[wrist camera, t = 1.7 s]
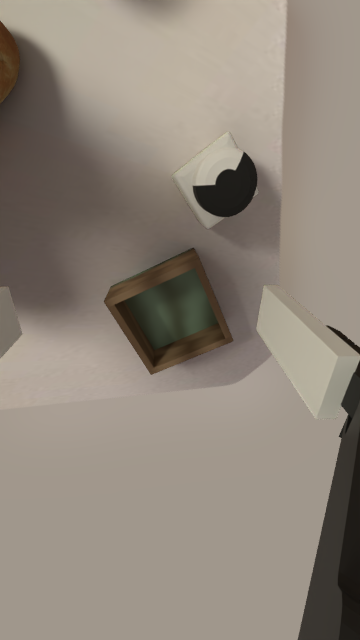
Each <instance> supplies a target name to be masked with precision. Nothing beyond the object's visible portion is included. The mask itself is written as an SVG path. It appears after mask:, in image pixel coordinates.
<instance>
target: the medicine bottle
mask: <svg viewBox="0 0 360 640" xmlns="http://www.w3.org/2000/svg"><path fill="white" fill-rule="evenodd" d="M172 179H173V181H174V183H175V184H176V186H177V187H178V189H179V191H180V192H181V194H182V195H183V197H184V199H185V200H186V202H187V204H188V205H189V207H190V208H191V210H192V212H193V213H194V215H195V216H196V218H197V220H198V221H199V222H200V223H201V224H202V225H203V226H204V227H205V228H206V229H210V228H211V227H213V226H214V225H216V224H217V223H218V222H220V221H221V220H223V219H224V218H225V217H230V216H233V215H236V214H238V213H240V212H241V211H242V210H244V209H245V208H246V207H247V206H248V204H249V203H250V202H251V200H252V198H253V197H255V196H256V195H257V194H258V192H259V191H258V189H257V187H256V186H257V173H256V168H255V165H254V163H253V161H252V160H251V158H250V157H249V156H248V155H247V154H246V153H245V152H243V151H242V150H240V149H238V147H237V145H236V143H235V141H234V139H233V137H232V135H231V133H230V132H226V133H225V134H224V135H222V136H221V137H220V138H218V139H217V140H216V141H214V142H213V143H212V144H211V145H209V146H208V147H207V148H205V149H204V150H203V151H202V152H200V153H199V154H198V155H197V156H195V157H194V158H193V159H192V160H190V161H189V162H188V163H187V164H185V165H184V166H183V167H182V168H180V169H179V170H178V171H176V172H175V173H174V174H173V175H172Z"/></svg>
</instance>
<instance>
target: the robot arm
mask: <svg viewBox="0 0 360 640" xmlns="http://www.w3.org/2000/svg"><path fill="white" fill-rule="evenodd" d="M256 330H257V332H258V333H259V335H260V336H261V338H262V339H263V341H264V342H265V344H266V345H267V347H268V348H269V350H270V351H271V353H272V354H273V356H274V357H275V359H276V360H277V362H278V363H279V365H280V366H281V368H282V369H283V371H284V372H285V374H286V375H287V376H288V378H289V380H290V381H291V383H292V384H293V386H294V387H295V389H296V390H297V392H298V393H299V395H300V396H301V398H302V399H303V401H304V402H305V404H306V405H307V407H308V408H309V410H310V411H311V413H312V414H313V415H314V417H315V419H336V418H337V415H338V413H339V410H340V408H341V406H342V407H343V408H344V409H345V411H346V412H347V413H348V416H347V419H346V421H345V423H344V426H343V428H342V431H341V433H340V435H339V437H341V438H342V439H341V444H340V448H339V453H338V457H337V462H336V467H335V471H334V476H333V480H332V485H331V490H330V494H329V499H328V503H327V508H326V513H325V518H324V522H323V527H322V531H321V536H320V541H319V545H318V549H317V554H316V559H315V564H314V568H313V573H312V577H311V582H310V586H309V591H308V596H307V601H306V605H305V609H304V614H303V619H302V624H301V628H300V632H299V637H298V640H360V347H358V346H357V345H355V344H354V343H353V342H352V341H351V340H350V339H348V338H347V337H346V336H345V335H343V334H342V333H341V332H340V331H338V330H336V329H334V328H332V327H330V326H325V325H324V324H323V323H322V322H321V321H320V320H318V319H317V318H316V317H315V316H314V315H313V314H311V313H310V312H309V311H308V310H307V309H305V308H304V307H303V306H302V305H301V304H300V303H298V302H297V301H296V300H295V299H294V298H292V297H291V296H290V295H289V294H288V293H287V292H285V291H284V290H283V289H282V288H281V287H280V286H278V285H264V287H263V293H262V299H261V305H260V310H259V316H258V322H257V328H256ZM21 335H22V331H21V328H20V324H19V321H18V317H17V314H16V310H15V307H14V304H13V300H12V297H11V293H10V290H9V287H0V358H1V357H2V356H3V355H4V354H5V353H6V352H7V351H8V350H9V348H10V347H11V346H12V345H13V344H14V343H15V342H16V341H17V340H18V338H19V337H20V336H21Z"/></svg>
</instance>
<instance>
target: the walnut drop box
mask: <svg viewBox="0 0 360 640" xmlns="http://www.w3.org/2000/svg"><path fill="white" fill-rule="evenodd" d="M104 303H105V304H106V306H107V307H108V309H109V310H110V312H111V314H112V315H113V317H114V318H115V320H116V321H117V323H118V324H119V326H120V327H121V329H122V331H123V332H124V334H125V335H126V337H127V338H128V340H129V341H130V343H131V344H132V346H133V348H134V349H135V351H136V352H137V354H138V355H139V357H140V358H141V360H142V361H143V363H144V365H145V366H146V368H147V369H148V371H149V372H150V374H151V375H152V374H154V373H157V372H159V371H162V370H164V369H167V368H169V367H171V366H174V365H176V364H179V363H181V362H184V361H186V360H188V359H191V358H193V357H196V356H198V355H201V354H203V353H206V352H208V351H210V350H213V349H215V348H218V347H220V346H223V345H225V344H228V343H230V342H232V341H233V338H232V336H231V333H230V331H229V329H228V326H227V324H226V321H225V319H224V317H223V314H222V312H221V309H220V307H219V305H218V302H217V300H216V297H215V295H214V293H213V290H212V288H211V286H210V283H209V281H208V278H207V276H206V274H205V271H204V269H203V266H202V264H201V262H200V259H199V257H198V255H197V253H196V252H195V250H194V248H192V249H190V250H188V251H186V252H184V253H181V254H179V255H177V256H175V257H173V258H171V259H169V260H166V261H164V262H162V263H160V264H158V265H156V266H154V267H151V268H149V269H147V270H145V271H143V272H141V273H139V274H137V275H134V276H132V277H130V278H128V279H126V280H124V281H122V282H119V283H117V284H115V285H113V286H111V287H110V290H109V292H108V294H107V296H106V298H105V300H104Z"/></svg>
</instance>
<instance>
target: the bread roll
mask: <svg viewBox="0 0 360 640" xmlns="http://www.w3.org/2000/svg"><path fill="white" fill-rule="evenodd" d="M19 65H20V57H19V50H18V47H17V44H16V42H15V40H14V38H13V37H12V35H11V34H10V32H9V31H8V29H7V28H6V27H5V26H4V25H3V23H2V22H1V21H0V104H1V103H2V101H3V100H4V99H5V98H6V97H7V96H8V95H9V93H10V92H11V90H12V89H13V87H14V85H15V83H16V80H17V78H18V72H19Z"/></svg>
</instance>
